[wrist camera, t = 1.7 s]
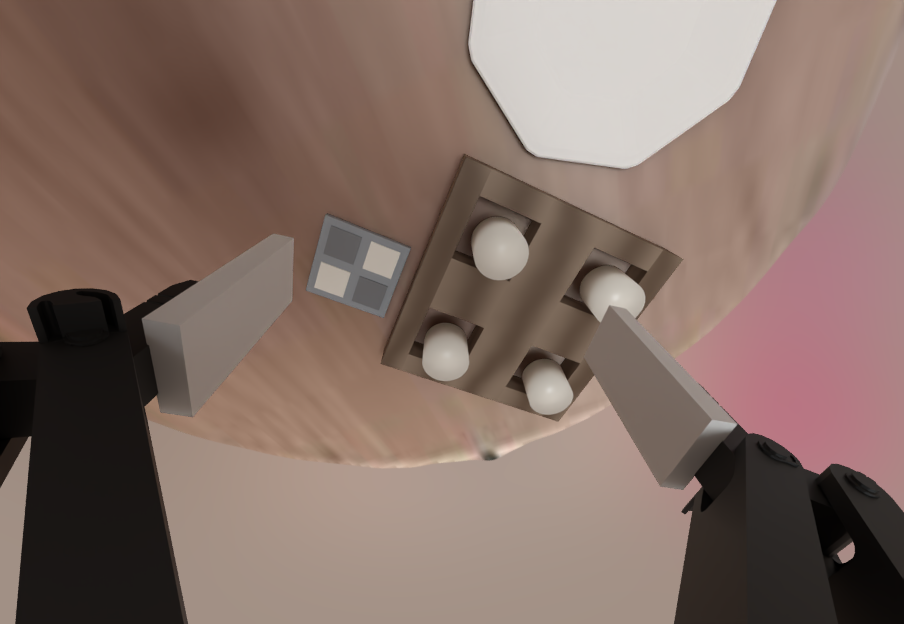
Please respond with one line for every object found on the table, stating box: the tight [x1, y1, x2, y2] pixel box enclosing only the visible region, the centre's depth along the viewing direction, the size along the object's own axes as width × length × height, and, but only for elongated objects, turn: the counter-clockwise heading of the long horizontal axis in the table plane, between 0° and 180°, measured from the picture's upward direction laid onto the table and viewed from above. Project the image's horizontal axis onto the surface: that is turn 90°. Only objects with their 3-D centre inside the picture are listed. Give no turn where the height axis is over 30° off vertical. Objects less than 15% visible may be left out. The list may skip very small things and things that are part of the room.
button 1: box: [422, 323, 469, 381], centre depth 38 cm, size 5×5×4 cm
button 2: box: [471, 216, 529, 280], centre depth 33 cm, size 5×5×4 cm
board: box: [381, 154, 683, 421], centre depth 40 cm, size 24×24×3 cm
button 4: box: [580, 265, 645, 322], centre depth 35 cm, size 5×5×4 cm
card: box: [306, 213, 411, 318], centre depth 38 cm, size 9×9×1 cm
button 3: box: [522, 359, 573, 415], centre depth 41 cm, size 5×5×4 cm
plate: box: [468, 0, 777, 169], centre depth 28 cm, size 24×24×2 cm
